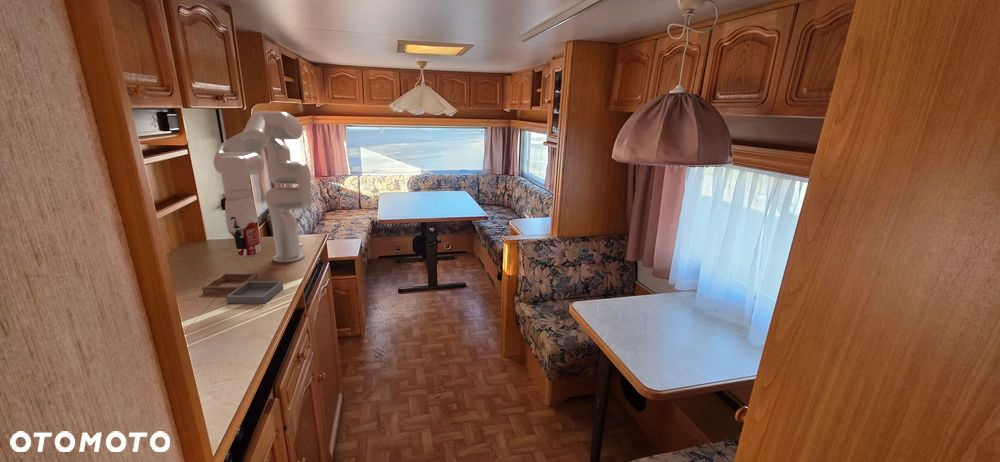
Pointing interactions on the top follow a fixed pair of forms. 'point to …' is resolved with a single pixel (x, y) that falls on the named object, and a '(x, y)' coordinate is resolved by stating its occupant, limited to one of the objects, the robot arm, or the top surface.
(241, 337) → the top surface
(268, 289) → the grey tray
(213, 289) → the wooden tray
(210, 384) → the top surface
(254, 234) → the soda can
